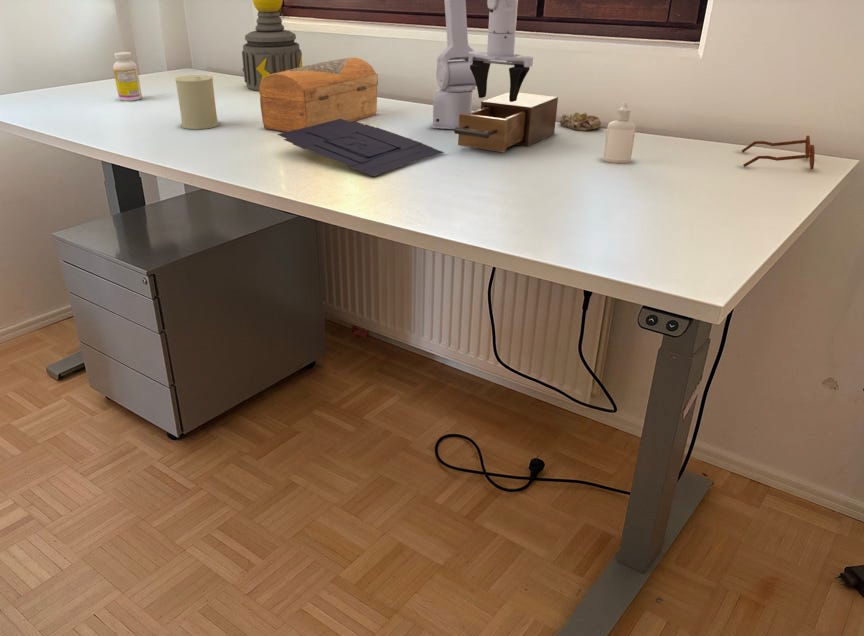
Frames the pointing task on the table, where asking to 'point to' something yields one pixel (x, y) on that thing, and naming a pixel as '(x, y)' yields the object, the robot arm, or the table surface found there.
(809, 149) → the glasses
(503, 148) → the drawer
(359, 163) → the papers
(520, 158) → the table surface
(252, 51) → the decorative lamp
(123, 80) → the supplement bottle
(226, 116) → the table surface
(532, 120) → the cabinet
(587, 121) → the mineral rock
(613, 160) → the eye dropper bottle
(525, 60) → the robot arm
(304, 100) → the wooden box
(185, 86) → the can
